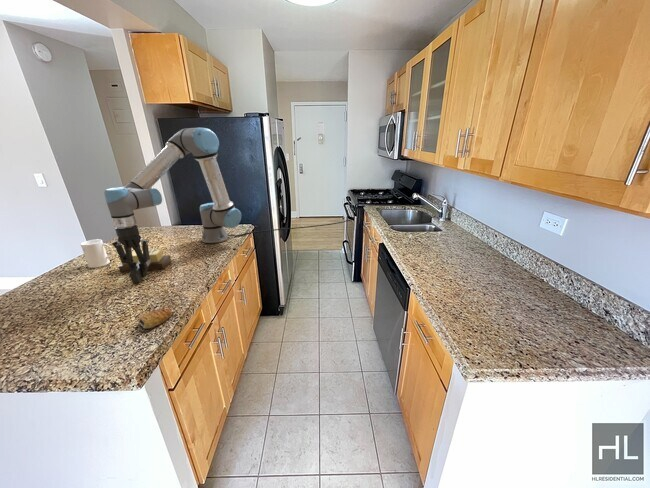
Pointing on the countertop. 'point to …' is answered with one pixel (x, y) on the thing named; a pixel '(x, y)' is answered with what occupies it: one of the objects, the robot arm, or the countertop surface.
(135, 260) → the butter
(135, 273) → the butter knife
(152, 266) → the butter board
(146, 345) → the countertop surface
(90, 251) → the mug
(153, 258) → the butter slice
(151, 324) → the pastry
